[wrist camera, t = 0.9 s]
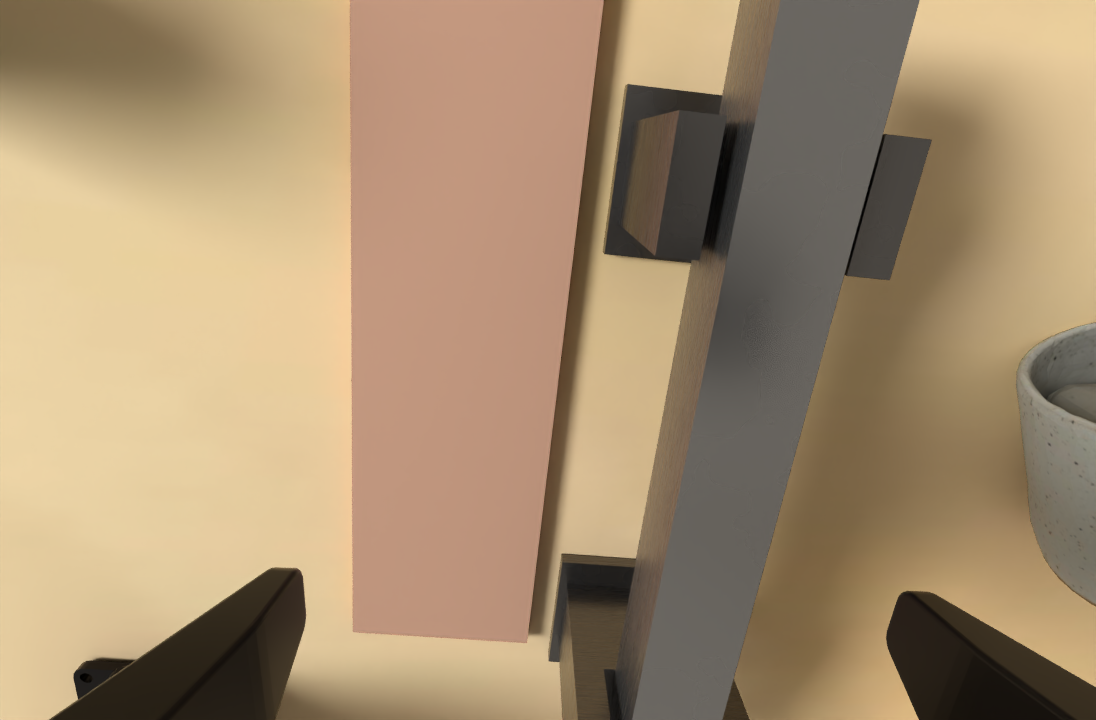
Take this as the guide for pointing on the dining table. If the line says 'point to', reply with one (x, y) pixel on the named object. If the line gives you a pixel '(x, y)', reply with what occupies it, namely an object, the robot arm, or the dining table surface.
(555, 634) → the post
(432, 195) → the mat
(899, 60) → the rail
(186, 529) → the dining table surface
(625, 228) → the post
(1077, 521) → the ceramic mug
